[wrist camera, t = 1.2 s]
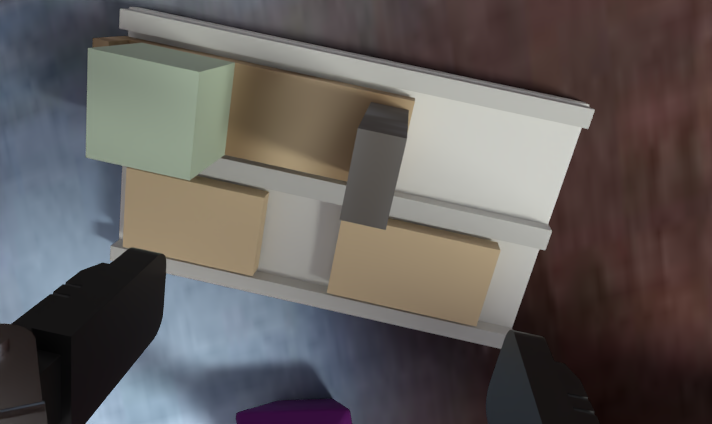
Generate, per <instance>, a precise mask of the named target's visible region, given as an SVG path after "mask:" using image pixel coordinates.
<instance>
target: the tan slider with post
mask: <svg viewBox="0 0 712 424" xmlns="http://www.w3.org/2000/svg"><path fill="white" fill-rule="evenodd" d="M133 43H146V44H151V45H155V46H160V47H165V48H169V49H174V50H179V51H183V52H188V53H193V54H197V55H202V56H207V57H211V58H216V59H220V60H225V61H230V62H234V63H235V68H234V77H233V86H232V94H231V103H230V112H229V121H228V130H227V138H226V147H225V155H228V156H233V157H237V158H242V159H246V160H251V161H255V162H260V163H264V164H269V165H274V166H278V167H283V168H287V169H292V170H296V171H301V172H305V173H310V174H315V175H319V176H324V177H328V178H333V179H337V180H342V181H346V182H347V185H346V190H345V195H344V200H343V205H342V210H341V215H340V220H342V221H347V222H351V223H356V224H360V225H365V226H369V227H374V228H378V229H383V230H386V227H387V223H388V218H389V214H390V210H391V205H392V201H393V197H394V193H395V188H396V184H397V180H398V176H399V171H400V167H401V163H402V158H403V154H404V150H405V146H406V141H407V133H408V129H409V124H410V120H411V116H412V112H413V107H414V103H415V98H413V97H408V96H404V95H399V94H394V93H390V92H385V91H380V90H376V89H371V88H366V87H362V86H357V85H352V84H348V83H343V82H338V81H334V80H329V79H324V78H320V77H315V76H310V75H306V74H301V73H296V72H292V71H287V70H282V69H278V68H273V67H268V66H264V65H259V64H254V63H250V62H245V61H240V60H236V59H231V58H226V57H222V56H217V55H213V54H208V53H203V52H199V51H194V50H189V49H185V48H180V47H175V46H171V45H166V44H161V43H157V42H152V41H147V40H143V39H138V38H133V37H129V36H116V37H102V38H93V47H103V46H113V45H123V44H133Z"/></svg>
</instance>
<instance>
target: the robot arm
mask: <svg viewBox="0 0 712 424" xmlns="http://www.w3.org/2000/svg"><path fill="white" fill-rule="evenodd" d="M165 279H166V257H165V255H164V254H162V253H157V252H152V251H148V250H143V249H139V248H134V247H131V248H129V249H127V250H126V251H125V252H124V253H122V254H121V255H120V256H119V257H118V258H116V259H115V260H114V261H113V262H111V263H110V264H107V263H100V264H98V265H95V266H92V267H90V268H87V269H84V270H81V271H80V272H79V273H77V274H76V275H75V276H73V277H72V278H71V279H69V280H68V281H67V282H66V284H65V285H62V286H60V287H59V288H58V289H56V290H55V291H54V292H53V295H52V294H50V295H49V296H47V297H46V298H45V299H43V300H42V301H41V302H39V303H38V304H37V305H35V306H34V307H33V308H32V309H30V310H29V311H28V312H26V313H25V314H24V315H22V316H21V317H20V318H18V319H17V320H16V321H15V322H13V323H12V324H0V424H85V423H86V422H87V421H88V420H89V418H90V417H91V416H92V415H93V414H94V412H95V411H96V410H97V409H98V407H99V406H100V405H101V404H102V402H103V401H104V400H105V399H106V397H107V396H108V395H109V394H110V392H111V391H112V390H113V389H114V388H115V386H116V385H117V384H118V383H119V381H120V380H121V379H122V378H123V376H124V375H125V374H126V373H127V371H128V370H129V369H130V368H131V366H132V365H133V364H134V363H135V362H136V360H137V359H138V358H139V357H140V355H141V354H142V353H143V352H144V350H145V349H146V348H147V347H148V345H149V344H150V343H151V342H152V340H153V339H154V338H155V336H156V334H157V332H158V330H159V327H160V324H161V321H162V317H163V308H164V293H165ZM486 414H487V420H488V424H600V423H599V420H598V418H597V416H596V415H594V409H593V407H592V405H591V403H590V401H588V396H587V394H586V392H585V389H584V387H583V385H582V383H581V381H580V379H579V378H578V377H577V376H576V375H575V374H574V373H573V372H572V371H571V370H570V369H569V368H568V367H567V366H566V365H565V364H564V363H559V362H555V361H554V359H553V357H552V354H551V352H550V349H549V347H548V344H547V342H546V340H545V338H544V337H543V336H538V335H534V334H529V333H524V332H520V331H515V330H509V331H508V332H507V334H506V336H505V339H504V342H503V345H502V348H501V351H500V354H499V357H498V360H497V363H496V366H495V369H494V372H493V375H492V378H491V381H490V384H489V388H488V392H487V399H486Z"/></svg>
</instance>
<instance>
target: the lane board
mask: <svg viewBox="0 0 712 424" xmlns="http://www.w3.org/2000/svg"><path fill="white" fill-rule="evenodd" d="M119 29H124V30H128V36H129V37H133V38H138V39H143V40H147V41H152V42H157V43H161V44H166V45H171V46H175V47H180V48H185V49H189V50H194V51H199V52H203V53H208V54H213V55H217V56H222V57H226V58H231V59H236V60H240V61H245V62H250V63H254V64H259V65H264V66H268V67H273V68H278V69H282V70H287V71H292V72H296V73H301V74H306V75H310V76H315V77H320V78H324V79H329V80H334V81H338V82H343V83H348V84H352V85H357V86H362V87H366V88H371V89H376V90H380V91H385V92H390V93H394V94H399V95H404V96H408V97H413V98H415V103H414V107H413V112H412V116H411V120H410V124H409V129H408V133H407V141H406V146H405V150H404V154H403V158H402V163H401V167H400V171H399V176H398V180H397V184H396V188H395V193H394V197H393V201H392V205H391V210H390V214H389V218H388V223H387V227H386V230H383V229H378V228H374V227H369V226H365V225H360V224H356V223H351V222H347V221H342V220H340V215H341V210H342V205H343V200H344V195H345V190H346V185H347V182H346V181H342V180H337V179H333V178H328V177H324V176H319V175H315V174H310V173H305V172H301V171H296V170H292V169H287V168H283V167H278V166H274V165H269V164H264V163H260V162H255V161H251V160H246V159H242V158H237V157H233V156H228V155H224V156H222V157H221V158H220V159H218V160H217V161H215V162H214V163H213V164H211V165H210V166H209V167H207V168H206V169H205V170H203V171H202V172H201V173H199V174H198V175H196V176H195V177H194V178H192V179H191V180H190V181H189V180H185V179H180V178H176V177H171V176H167V175H162V174H158V173H153V172H149V171H144V170H140V169H135V168H131V167H126V166H122V183H121V206H120V228H119V240H118V241H116V242H115V243H114V244H113V245H111V250H110V261H114V260H115V259H116V258H118V257H119V256H120V255H121V254H122V253H124V252H125V251H126V250H127V249H129V248H131V247H134V248H139V249H143V250H148V251H152V252H157V253H162V254H164V255H165V257H166V273H168V274H172V275H177V276H181V277H185V278H190V279H194V280H199V281H203V282H207V283H212V284H216V285H221V286H225V287H230V288H234V289H238V290H243V291H247V292H252V293H256V294H260V295H265V296H269V297H274V298H278V299H283V300H287V301H291V302H296V303H300V304H305V305H309V306H314V307H318V308H322V309H327V310H331V311H336V312H340V313H344V314H349V315H353V316H358V317H362V318H367V319H371V320H375V321H380V322H384V323H389V324H393V325H397V326H402V327H406V328H411V329H415V330H420V331H424V332H428V333H433V334H437V335H442V336H446V337H450V338H455V339H459V340H464V341H468V342H473V343H477V344H481V345H486V346H490V347H495V348H499V349H501V348H502V345H503V342H504V339H505V336H506V334H507V332H508V331H509V330H512V326H513V324H514V321H515V318H516V315H517V312H518V309H519V306H520V303H521V301H522V298H523V295H524V292H525V289H526V286H527V283H528V280H529V278H530V275H531V272H532V269H533V266H534V263H535V260H536V257H537V255H538V252H539V249H542V250H546V247H547V244H548V241H549V238H550V236H551V233H552V230H551V228H550V227H549V225H548V223H549V220H550V217H551V214H552V211H553V209H554V206H555V203H556V200H557V197H558V194H559V191H560V188H561V186H562V183H563V180H564V177H565V174H566V171H567V168H568V165H569V163H570V160H571V157H572V154H573V151H574V148H575V145H576V142H577V140H578V137H579V134H580V131H581V128H586V129H588V128H589V125H590V122H591V119H592V116H593V114H594V111H595V110H594V109H592V108H590V107H589V104H587V103H585V102H582V101H577V100H572V99H568V98H563V97H558V96H554V95H549V94H544V93H539V92H535V91H530V90H525V89H521V88H516V87H511V86H507V85H502V84H497V83H492V82H488V81H483V80H478V79H474V78H469V77H464V76H460V75H455V74H450V73H445V72H441V71H436V70H431V69H427V68H422V67H417V66H413V65H408V64H403V63H398V62H394V61H389V60H384V59H380V58H375V57H370V56H366V55H361V54H356V53H352V52H347V51H342V50H337V49H333V48H328V47H323V46H319V45H314V44H309V43H305V42H300V41H295V40H290V39H286V38H281V37H276V36H272V35H267V34H262V33H258V32H253V31H248V30H243V29H239V28H234V27H229V26H225V25H220V24H215V23H211V22H206V21H201V20H197V19H192V18H187V17H182V16H178V15H173V14H168V13H164V12H159V11H154V10H150V9H145V8H140V7H129V9H120V20H119Z"/></svg>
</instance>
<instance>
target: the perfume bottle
mask: <svg viewBox="0 0 712 424" xmlns="http://www.w3.org/2000/svg"><path fill="white" fill-rule="evenodd" d="M236 422H237V424H352V420H351V414H350V410H349V409H348V408H346V407H345V406H343V405H342V404H340V403H338V402H337V401H335V400H334V399H305V400H279V401H275V402H272V403H268V404H265V405H261V406H258V407H254V408H251V409H247V410H244V411H240V412H238V413H237V414H236Z"/></svg>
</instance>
